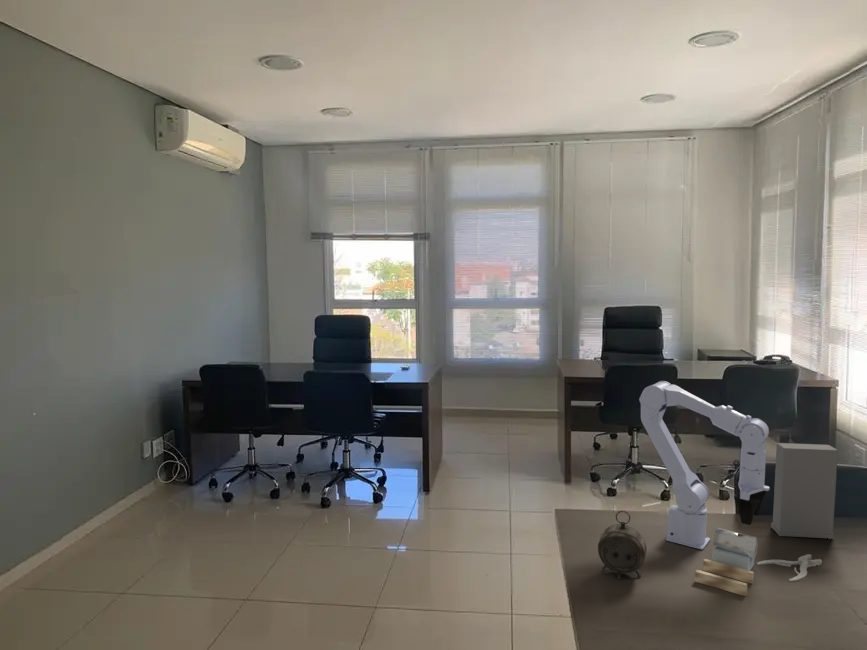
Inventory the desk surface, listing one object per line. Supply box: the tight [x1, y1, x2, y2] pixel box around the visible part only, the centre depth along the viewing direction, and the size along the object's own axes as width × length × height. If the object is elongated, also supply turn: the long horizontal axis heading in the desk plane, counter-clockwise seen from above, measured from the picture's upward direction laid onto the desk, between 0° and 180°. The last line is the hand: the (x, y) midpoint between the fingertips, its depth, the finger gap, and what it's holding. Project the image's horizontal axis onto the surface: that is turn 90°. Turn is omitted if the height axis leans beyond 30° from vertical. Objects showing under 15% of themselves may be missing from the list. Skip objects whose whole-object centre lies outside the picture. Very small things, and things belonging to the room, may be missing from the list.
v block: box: [711, 548, 755, 571], centre depth 157 cm, size 8×8×4 cm
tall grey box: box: [770, 442, 839, 540], centre depth 175 cm, size 14×6×25 cm, turn 82°
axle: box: [713, 527, 759, 559], centre depth 156 cm, size 9×5×5 cm, turn 52°
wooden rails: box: [694, 558, 755, 597], centre depth 149 cm, size 11×8×2 cm
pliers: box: [756, 553, 823, 583], centre depth 156 cm, size 10×2×15 cm
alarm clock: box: [597, 510, 647, 580], centre depth 151 cm, size 11×5×16 cm, turn 65°
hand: (750, 519), depth 161 cm, fingers open, 7 cm apart
